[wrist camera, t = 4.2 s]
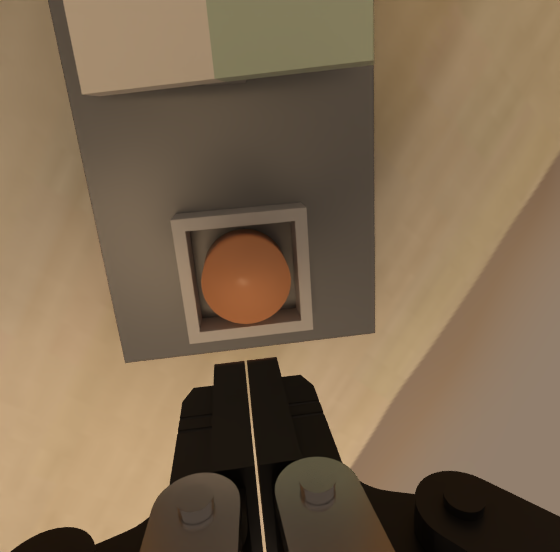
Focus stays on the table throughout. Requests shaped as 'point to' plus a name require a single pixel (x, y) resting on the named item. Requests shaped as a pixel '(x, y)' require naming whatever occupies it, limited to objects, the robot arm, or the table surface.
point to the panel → (230, 201)
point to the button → (245, 277)
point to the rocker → (212, 40)
